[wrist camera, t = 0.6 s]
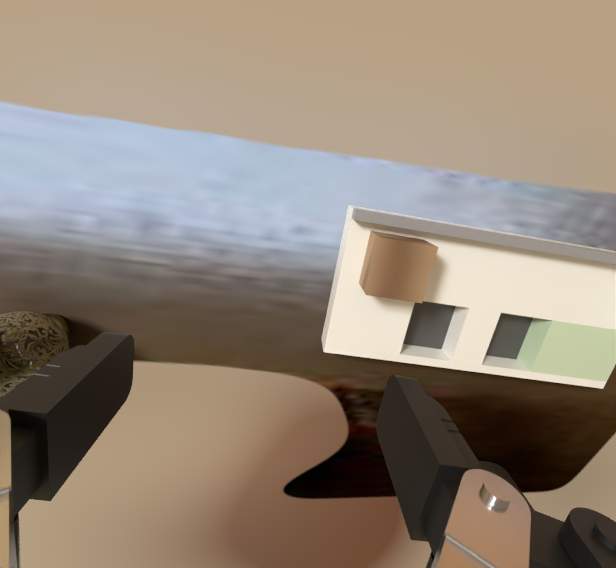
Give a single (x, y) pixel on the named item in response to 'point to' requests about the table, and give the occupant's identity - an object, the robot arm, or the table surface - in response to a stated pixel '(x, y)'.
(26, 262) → the table surface
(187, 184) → the table surface
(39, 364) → the cup
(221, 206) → the table surface
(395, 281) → the walnut block
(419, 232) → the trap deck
